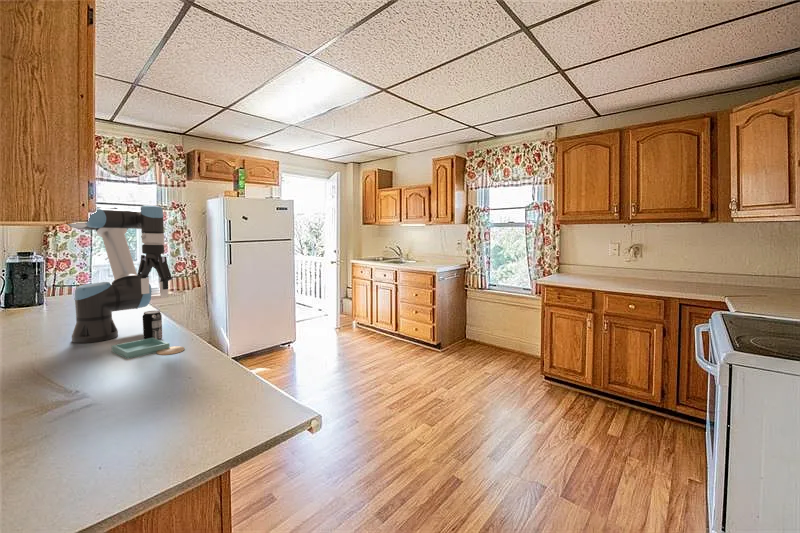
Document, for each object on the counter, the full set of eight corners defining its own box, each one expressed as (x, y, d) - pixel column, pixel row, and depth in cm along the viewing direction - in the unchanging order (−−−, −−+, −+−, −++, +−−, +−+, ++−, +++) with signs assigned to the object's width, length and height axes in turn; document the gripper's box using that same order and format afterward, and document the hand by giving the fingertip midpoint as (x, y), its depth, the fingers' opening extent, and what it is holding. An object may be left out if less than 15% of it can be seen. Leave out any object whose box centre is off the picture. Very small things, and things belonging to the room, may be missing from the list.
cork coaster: (152, 351, 139) (152, 350, 138) (177, 346, 146) (177, 345, 146) (163, 356, 134) (163, 355, 133) (188, 350, 141) (188, 349, 141)
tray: (111, 351, 138) (111, 345, 138) (153, 343, 150) (153, 337, 150) (127, 358, 131) (127, 352, 130) (169, 349, 142) (169, 343, 142)
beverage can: (145, 338, 156) (144, 311, 155) (163, 337, 159) (162, 309, 158) (142, 342, 150) (140, 314, 149) (161, 341, 153) (159, 312, 152)
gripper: (126, 242, 152) (128, 293, 154) (161, 245, 140) (163, 300, 142) (145, 242, 158) (147, 291, 160) (180, 245, 147) (182, 297, 149)
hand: (154, 295), depth 151 cm, fingers open, 13 cm apart
